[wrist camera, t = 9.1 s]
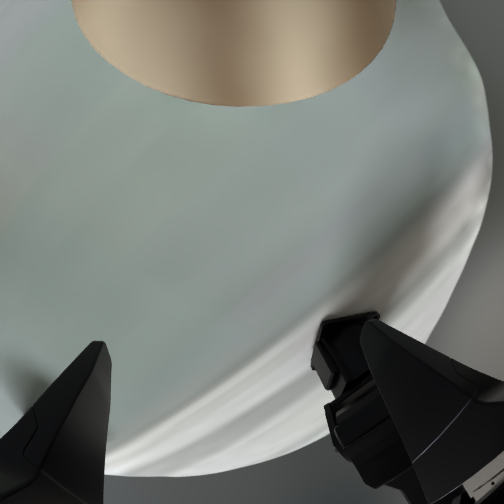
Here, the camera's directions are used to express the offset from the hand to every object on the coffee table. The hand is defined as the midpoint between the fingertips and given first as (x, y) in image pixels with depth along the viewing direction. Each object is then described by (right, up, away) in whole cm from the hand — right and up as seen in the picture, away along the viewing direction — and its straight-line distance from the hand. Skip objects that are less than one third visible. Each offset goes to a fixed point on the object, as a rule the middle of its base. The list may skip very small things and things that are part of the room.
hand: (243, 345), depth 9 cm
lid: (0, +16, -1) cm, 16 cm away
